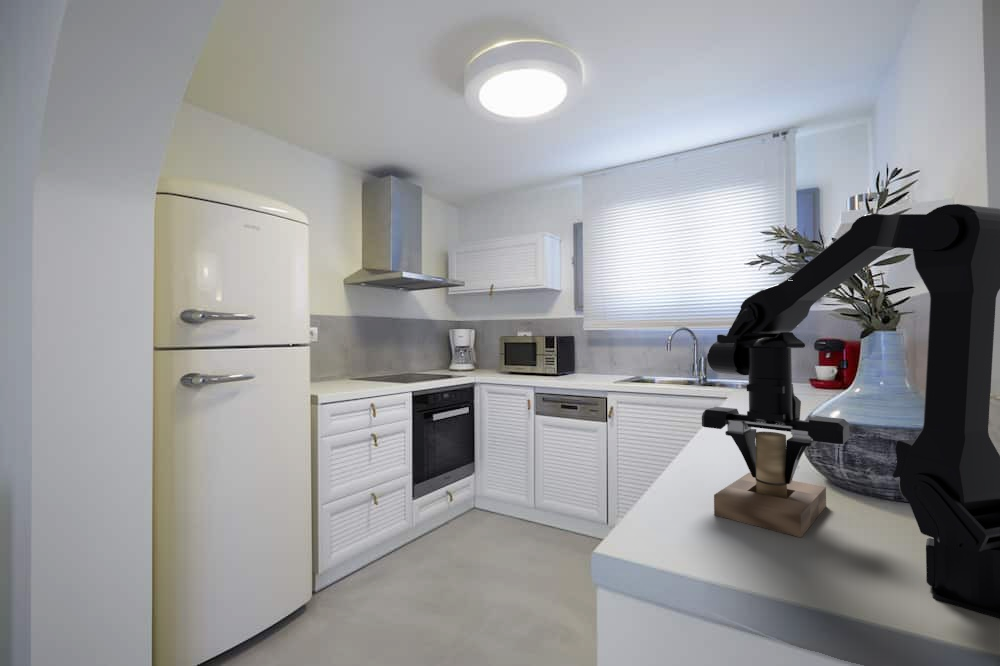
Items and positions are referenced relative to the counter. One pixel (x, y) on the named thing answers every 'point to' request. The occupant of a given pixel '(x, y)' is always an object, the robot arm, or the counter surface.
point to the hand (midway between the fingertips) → (771, 480)
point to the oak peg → (771, 464)
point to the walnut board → (771, 505)
